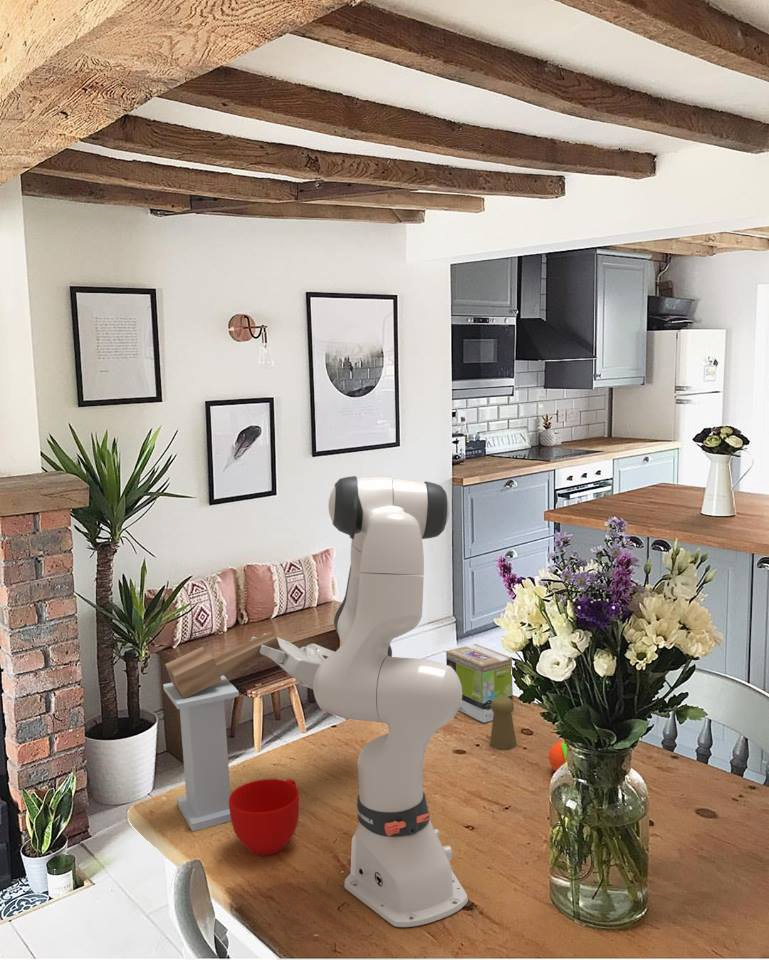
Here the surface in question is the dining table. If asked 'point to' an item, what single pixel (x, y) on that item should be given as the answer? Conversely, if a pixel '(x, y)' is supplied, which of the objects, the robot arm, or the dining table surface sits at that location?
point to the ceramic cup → (265, 814)
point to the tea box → (481, 678)
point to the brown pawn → (502, 724)
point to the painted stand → (204, 754)
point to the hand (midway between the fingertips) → (255, 644)
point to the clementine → (558, 755)
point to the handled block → (213, 665)
